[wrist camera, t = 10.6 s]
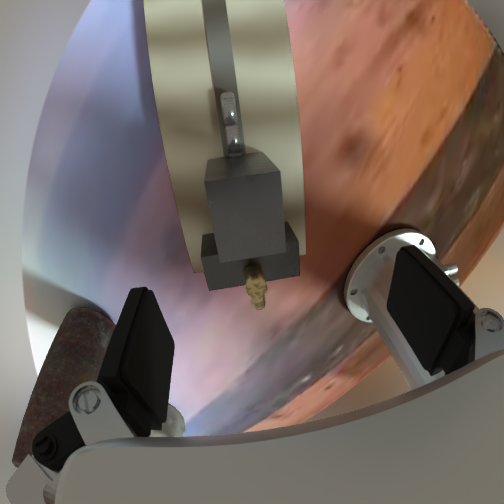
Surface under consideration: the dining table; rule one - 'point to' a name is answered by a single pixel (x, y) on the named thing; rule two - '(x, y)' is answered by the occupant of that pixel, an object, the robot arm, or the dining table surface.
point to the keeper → (250, 268)
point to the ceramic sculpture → (171, 425)
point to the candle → (64, 372)
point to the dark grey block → (244, 197)
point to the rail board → (208, 99)
